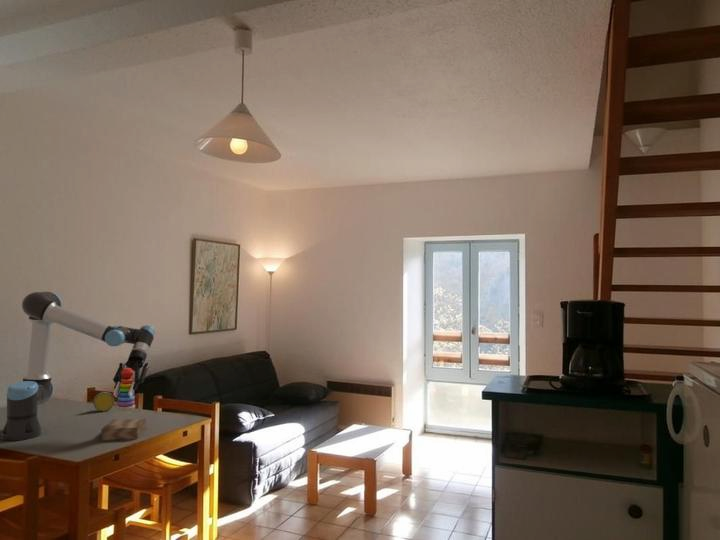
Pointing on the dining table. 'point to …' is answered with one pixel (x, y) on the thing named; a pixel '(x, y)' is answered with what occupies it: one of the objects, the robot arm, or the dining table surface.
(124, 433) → the walnut block
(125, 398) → the stacking toy
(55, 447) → the dining table surface
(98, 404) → the decorative artifact
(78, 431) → the dining table surface
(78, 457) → the dining table surface
